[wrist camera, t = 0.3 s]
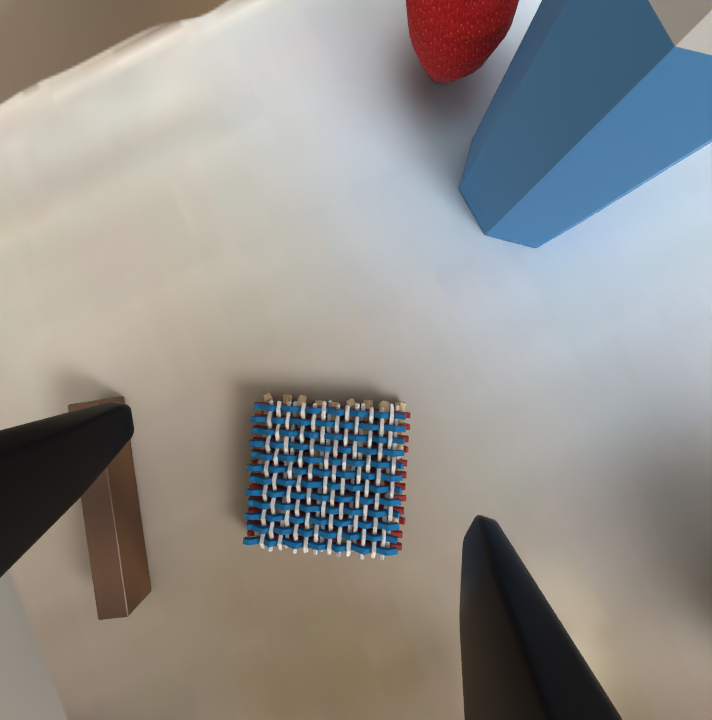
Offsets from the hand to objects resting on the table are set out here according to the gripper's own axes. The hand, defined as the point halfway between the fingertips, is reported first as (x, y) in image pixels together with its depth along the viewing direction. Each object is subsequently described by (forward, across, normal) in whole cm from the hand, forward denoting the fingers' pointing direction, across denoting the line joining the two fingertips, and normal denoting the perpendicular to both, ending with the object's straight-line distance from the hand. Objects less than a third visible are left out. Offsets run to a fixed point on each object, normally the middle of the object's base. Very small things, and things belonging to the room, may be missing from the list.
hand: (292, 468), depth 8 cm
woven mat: (+11, 0, +12) cm, 16 cm away
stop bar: (+8, +14, +16) cm, 23 cm away
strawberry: (+24, 0, -14) cm, 28 cm away
